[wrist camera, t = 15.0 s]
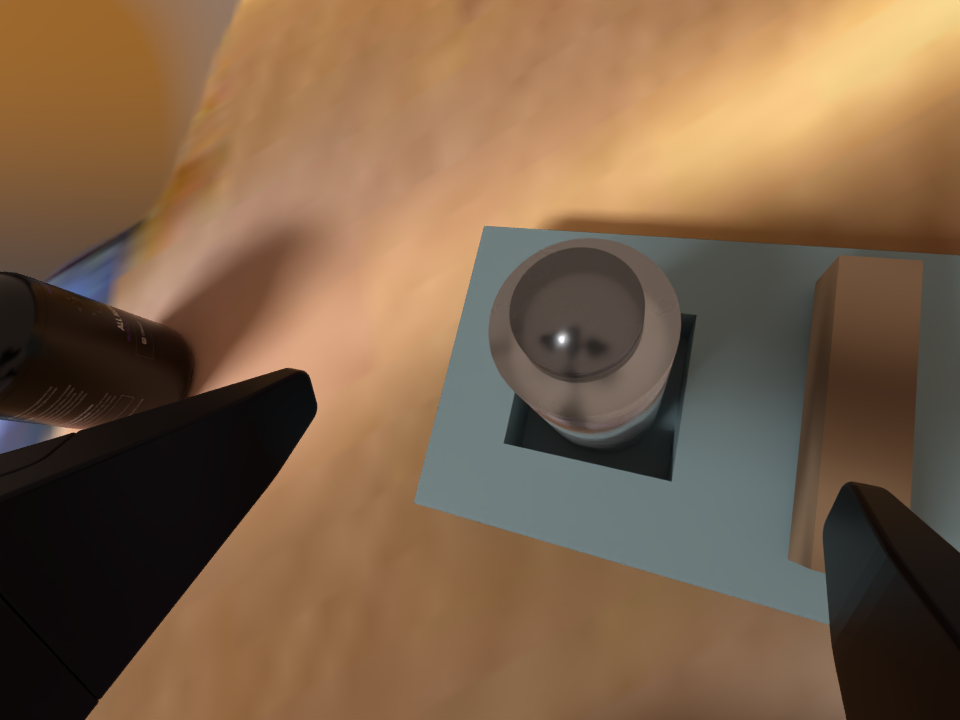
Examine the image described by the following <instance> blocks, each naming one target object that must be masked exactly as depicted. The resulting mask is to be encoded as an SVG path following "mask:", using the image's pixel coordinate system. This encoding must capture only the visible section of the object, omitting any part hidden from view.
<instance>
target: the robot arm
mask: <svg viewBox="0 0 960 720" xmlns="http://www.w3.org/2000/svg"><path fill="white" fill-rule="evenodd" d="M316 412H317V402H316V398H315V394H314V391H313V387H312V383H311V380H310V377H309V375H308V374H307V373H306V372H305V371H302V370H297V369H292V368H285V369H281V370H278V371H275V372H271V373H268V374H265V375H261V376H258V377H255V378H252V379H248V380H245V381H242V382H238V383H235V384H232V385H229V386H225V387H222V388H219V389H215V390H212V391H209V392H205V393H202V394H199V395H196V396H192V397H189V398H186V399H182V400H179V401H176V402H173V403H169V404H166V405H163V406H159V407H156V408H153V409H149V410H146V411H143V412H140V413H136V414H133V415H130V416H126V417H123V418H120V419H117V420H113V421H110V422H107V423H103V424H100V425H97V426H94V427H90V428H87V429H84V430H80V431H78V432H77V433H70V434H67V435H64V436H60V437H57V438H54V439H50V440H47V441H44V442H40V443H37V444H33V445H30V446H27V447H23V448H20V449H16V450H13V451H10V452H6V453H2V454H0V720H85V719H86V718H87V716H88V715H89V714H90V713H91V711H92V710H93V709H94V708H95V706H96V705H97V704H98V702H99V699H101V698H102V697H103V695H104V694H105V693H106V692H107V690H108V689H109V688H110V687H111V685H112V684H113V683H114V681H115V680H116V679H117V678H118V676H119V675H120V674H121V673H122V671H123V670H124V669H125V668H126V666H127V665H128V664H129V662H130V661H131V660H132V659H133V657H134V656H135V655H136V654H137V652H138V651H139V650H140V649H141V647H142V646H143V645H144V643H145V642H146V641H147V640H148V638H149V637H150V636H151V635H152V633H153V632H154V631H155V630H156V628H157V627H158V626H159V624H160V623H161V622H162V621H163V619H164V618H165V617H166V616H167V614H168V613H169V612H170V610H171V609H172V608H173V607H174V605H175V604H176V603H177V602H178V600H179V599H180V598H181V597H182V595H183V594H184V593H185V591H186V590H187V589H188V588H189V586H190V585H191V584H192V583H193V581H194V580H195V579H196V578H197V576H198V575H199V574H200V572H201V571H202V570H203V569H204V567H205V566H206V565H207V564H208V562H209V561H210V560H211V559H212V557H213V556H214V555H215V553H216V552H217V551H218V550H219V548H220V547H221V546H222V545H223V543H224V542H225V541H226V540H227V538H228V537H229V536H230V534H231V533H232V532H233V531H234V529H235V528H236V527H237V526H238V524H239V523H240V522H241V521H242V519H243V518H244V517H245V515H246V514H247V513H248V512H249V510H250V509H251V508H252V507H253V505H254V504H255V503H256V501H257V500H258V499H259V498H260V496H261V495H262V494H263V493H264V491H265V490H266V489H267V488H268V486H269V485H270V484H271V482H272V481H273V480H274V478H275V477H276V475H277V474H278V472H279V471H280V470H281V468H282V467H283V465H284V464H285V462H286V460H287V459H288V457H289V456H290V454H291V453H292V451H293V450H294V448H295V447H296V445H297V443H298V442H299V440H300V439H301V437H302V436H303V434H304V433H305V431H306V430H307V428H308V427H309V425H310V423H311V422H312V420H313V419H314V417H315V415H316ZM822 539H823V552H824V564H825V576H826V588H827V600H828V612H829V624H830V634H831V643H832V650H833V656H834V662H835V667H836V672H837V677H838V681H839V686H840V691H841V695H842V700H843V705H844V710H845V714H846V719H847V720H960V552H959V551H957V550H956V549H955V548H954V547H953V546H952V545H950V544H949V543H948V542H947V541H946V540H945V539H944V538H942V537H941V536H940V535H939V534H938V533H937V532H935V531H934V530H933V529H932V528H931V527H930V526H929V525H927V524H926V523H925V522H924V521H923V520H922V519H920V518H919V517H918V516H917V515H916V514H915V513H914V512H912V511H911V510H910V509H909V508H908V507H907V506H905V505H904V504H903V503H902V502H901V501H900V500H899V499H897V498H896V497H895V496H894V495H893V494H892V493H890V492H889V491H888V490H886V489H884V488H882V487H878V486H873V485H868V484H863V483H858V482H854V481H850V482H847V483H845V484H844V485H843V486H842V487H841V489H840V491H839V493H838V495H837V497H836V499H835V501H834V504H833V506H832V508H831V510H830V512H829V514H828V516H827V518H826V520H825V523H824V527H823V535H822Z"/></svg>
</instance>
